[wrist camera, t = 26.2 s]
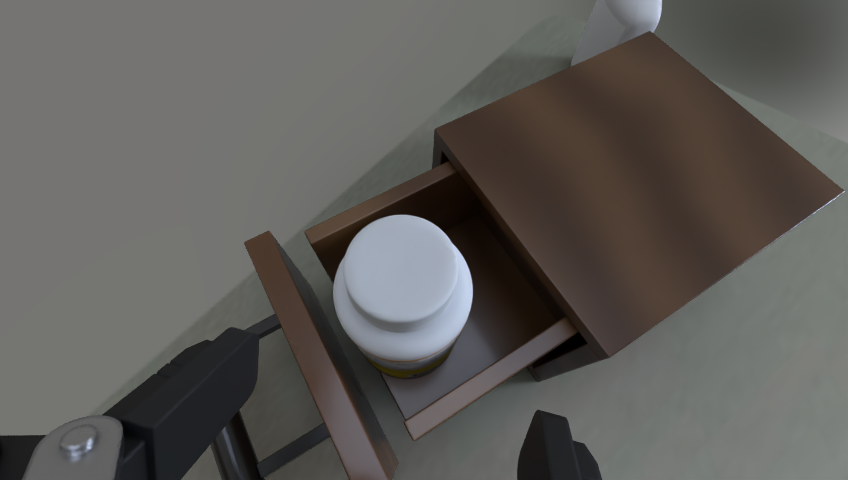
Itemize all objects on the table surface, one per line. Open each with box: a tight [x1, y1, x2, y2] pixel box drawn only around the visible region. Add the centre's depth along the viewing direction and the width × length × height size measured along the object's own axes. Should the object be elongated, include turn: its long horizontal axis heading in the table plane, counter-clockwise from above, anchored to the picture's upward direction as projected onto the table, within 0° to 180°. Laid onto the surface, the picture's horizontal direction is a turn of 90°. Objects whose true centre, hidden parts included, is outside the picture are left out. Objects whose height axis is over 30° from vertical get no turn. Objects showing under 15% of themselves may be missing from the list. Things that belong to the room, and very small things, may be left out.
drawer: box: [210, 161, 579, 480], centre depth 20 cm, size 18×11×8 cm, turn 121°
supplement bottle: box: [333, 215, 473, 379], centre depth 18 cm, size 6×6×10 cm
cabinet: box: [432, 31, 845, 382], centre depth 23 cm, size 15×13×10 cm
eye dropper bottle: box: [571, 0, 662, 66], centre depth 29 cm, size 4×6×12 cm
